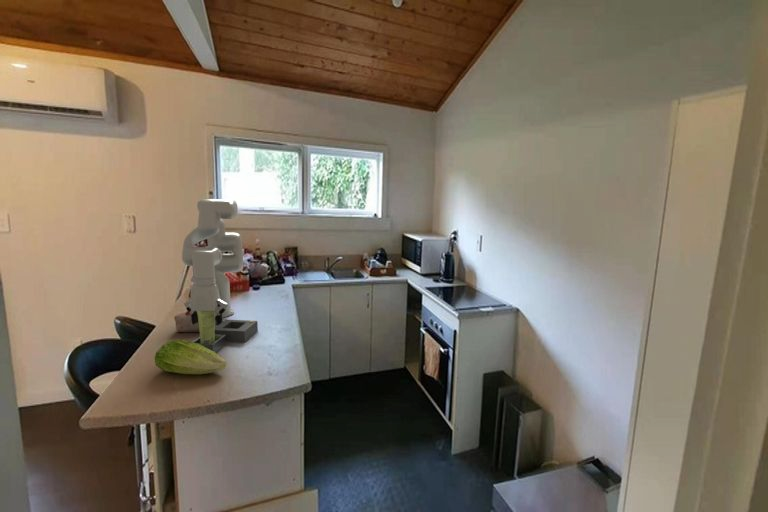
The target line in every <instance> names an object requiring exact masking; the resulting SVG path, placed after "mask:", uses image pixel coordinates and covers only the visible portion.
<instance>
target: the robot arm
mask: <svg viewBox="0 0 768 512" xmlns="http://www.w3.org/2000/svg"><path fill="white" fill-rule="evenodd" d="M196 206H197V210H198V217H197V227H195V228H193V230H191V231H190V232H189V233H188V235H186V237H185V238H184V240H183V244H182V245H183V246H182V252H181V259H182V260H181V261H182V263H183V264H184V265H185V266H187V267H192V272H193V274H192V275H193V277H192V278H191V279H190V281H191V283H193V284H192V285H191V288H190V296H189V297H190V298H189V300H186V301H185V302H184V303H183V305H184V306H185V309H186V311H189V313H190V314H191V320H192V324H195V323H197V322H198V314H197V311H214V312H215V326H216V325H219V324H221V323H222V321H223V318H226V317H231V316H233V314H234V313H235V310H234V309H232V307H231V288H230V285H231V284H230V279H229V278H228V276H227V275H226V274H225V273H239V272H242V271H243V269H244V252H243V251H244V250H243V249H244V248H243V240H242V239H243V238H242V236H241V234H240V233H238V232H227V231H226V223H225V220H234V219H235V218H236V216H237V215H238V210H239V208H238V204H237V202H236V200H234V199H223V198H220V199H219V198H218V199H217V198H208V199H207V198H204V199H200V200H198V201H197V204H196ZM204 240H207V246H199V247H197V246H195V245H197V244H198V243H200V242H202V241H204ZM224 252H230V253H224ZM231 252H232V253H231Z"/></svg>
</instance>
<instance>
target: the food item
mask: <svg viewBox="0 0 768 512" xmlns="http://www.w3.org/2000/svg"><path fill="white" fill-rule="evenodd" d="M173 319H174V321H175V328H176V329H175V330H176V333H177V332H184V333H200V330H199V321H198V322H197V323H195V324H192V320H191V314H190V313H189V311H188V310H186V312H178V313H176V314H175V316H174V317H173Z"/></svg>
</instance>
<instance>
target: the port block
mask: <svg viewBox="0 0 768 512" xmlns="http://www.w3.org/2000/svg"><path fill="white" fill-rule="evenodd" d="M258 328H259V327H258V320H245V319H244V320H243V319H224V320H222V323H221V324H219V325H216V324H215V334H219V335H226V336H227V343H244V344H245V343H246V342H247V341H249V340H250V339H252V337H254V336H255V334H256V333H258V331H259V330H258Z"/></svg>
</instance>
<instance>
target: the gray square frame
mask: <svg viewBox="0 0 768 512" xmlns="http://www.w3.org/2000/svg"><path fill="white" fill-rule="evenodd" d="M191 342H193V343H197V344H200V345H202V346H204V347H206V348H208V349H210V350H212V351H213V352H215V353H216V354H217V353H218V352H219V351H221V349H222V348H224V347H225V346H226V345H228V342H227V336H226V335H219V334H215V342H214V343H212V344H201V340H200V336H198V337H197V338H195V339H194V340H192V341H191Z"/></svg>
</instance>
